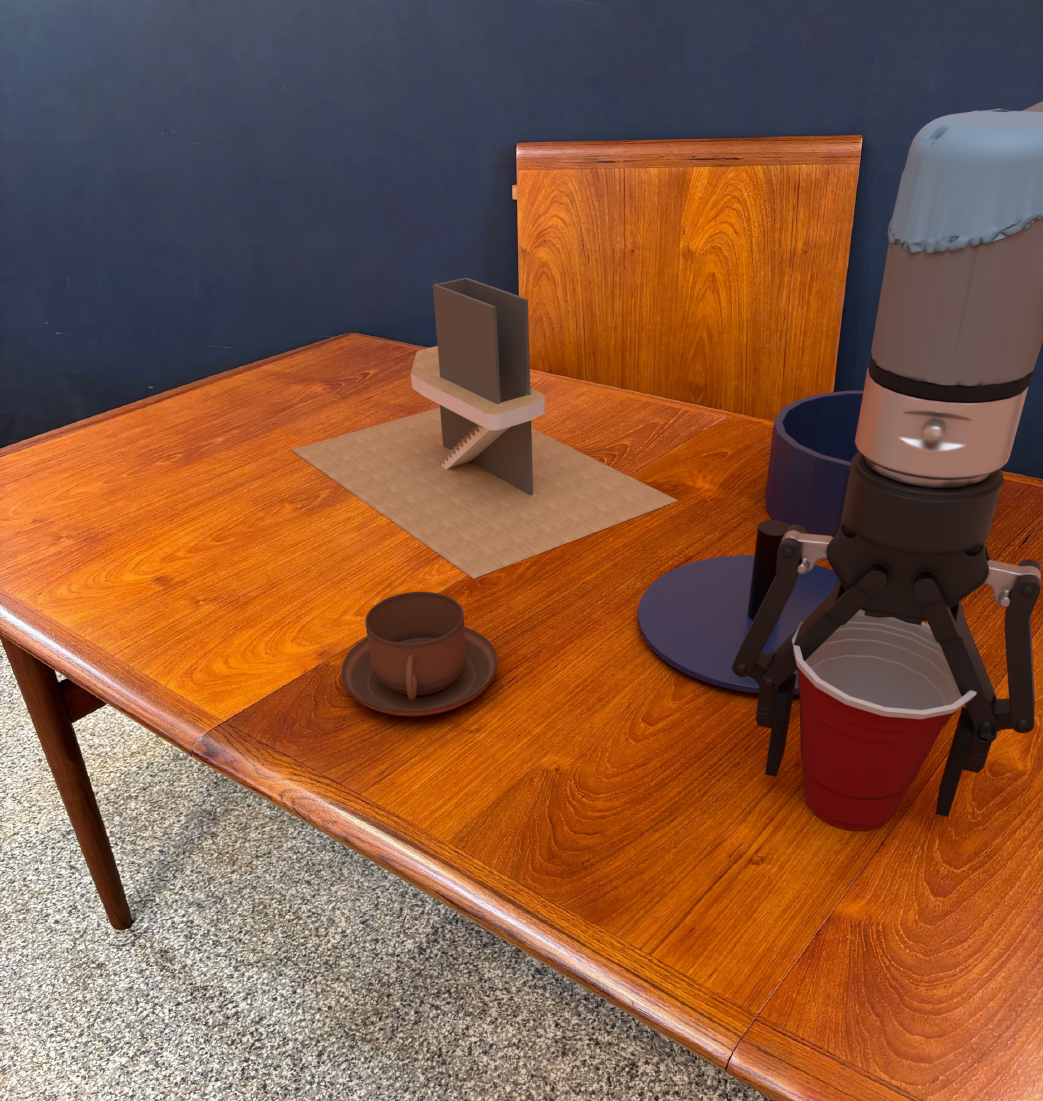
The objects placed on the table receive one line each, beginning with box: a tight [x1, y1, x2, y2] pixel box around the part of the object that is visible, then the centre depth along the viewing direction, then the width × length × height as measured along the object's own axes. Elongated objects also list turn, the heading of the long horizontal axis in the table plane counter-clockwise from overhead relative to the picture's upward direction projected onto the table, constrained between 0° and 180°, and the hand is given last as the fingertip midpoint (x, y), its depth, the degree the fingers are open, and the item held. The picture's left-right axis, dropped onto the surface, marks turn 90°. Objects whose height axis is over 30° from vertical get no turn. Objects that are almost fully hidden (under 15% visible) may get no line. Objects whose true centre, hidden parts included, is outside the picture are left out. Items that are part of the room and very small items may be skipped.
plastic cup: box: [792, 609, 977, 832], centre depth 63 cm, size 11×11×12 cm
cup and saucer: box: [341, 591, 499, 717], centre depth 77 cm, size 12×12×6 cm
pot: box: [764, 390, 864, 536], centre depth 98 cm, size 20×25×8 cm
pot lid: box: [637, 519, 840, 696], centre depth 81 cm, size 21×21×9 cm
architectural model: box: [290, 277, 679, 580], centre depth 104 cm, size 38×25×20 cm, turn 36°
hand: (856, 782), depth 65 cm, fingers open, 10 cm apart
